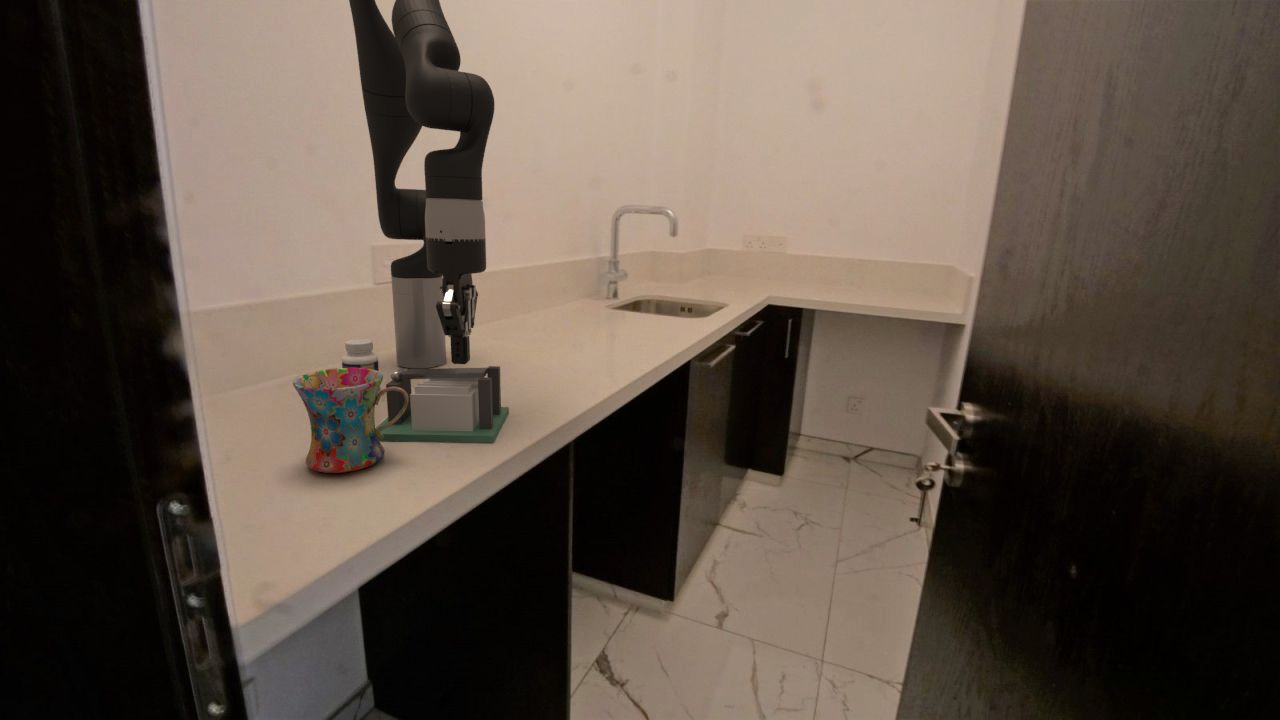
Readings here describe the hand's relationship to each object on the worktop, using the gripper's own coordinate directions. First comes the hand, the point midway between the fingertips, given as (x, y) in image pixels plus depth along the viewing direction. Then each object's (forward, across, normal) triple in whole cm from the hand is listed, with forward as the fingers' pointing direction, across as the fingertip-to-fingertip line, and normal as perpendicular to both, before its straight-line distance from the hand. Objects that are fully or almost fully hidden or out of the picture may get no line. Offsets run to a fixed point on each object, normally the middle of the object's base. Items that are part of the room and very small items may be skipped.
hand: (460, 362), depth 81 cm
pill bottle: (+10, -14, -20) cm, 26 cm away
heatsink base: (+9, 0, -3) cm, 10 cm away
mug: (+10, +13, -9) cm, 18 cm away
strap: (+2, 0, -3) cm, 3 cm away
